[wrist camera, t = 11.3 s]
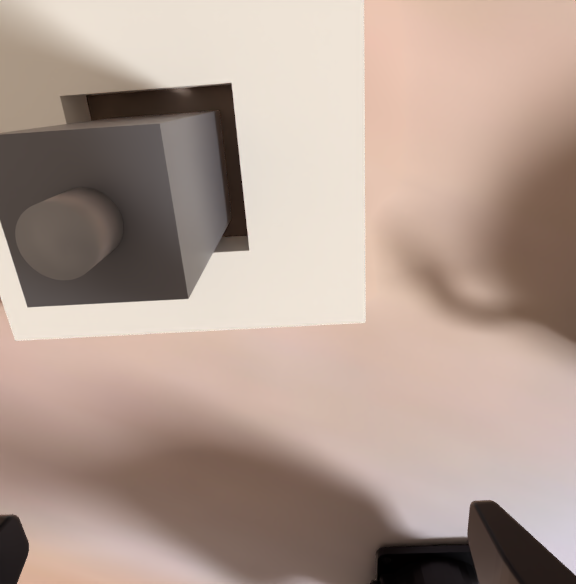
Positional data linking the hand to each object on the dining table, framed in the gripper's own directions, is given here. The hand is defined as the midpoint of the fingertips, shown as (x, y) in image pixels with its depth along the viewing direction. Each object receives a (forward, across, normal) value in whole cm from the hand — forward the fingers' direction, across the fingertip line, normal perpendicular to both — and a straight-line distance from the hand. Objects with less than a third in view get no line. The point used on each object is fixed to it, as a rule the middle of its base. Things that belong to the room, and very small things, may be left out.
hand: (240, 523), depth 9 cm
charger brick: (+11, +3, -6) cm, 13 cm away
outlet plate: (+11, +3, -6) cm, 13 cm away
